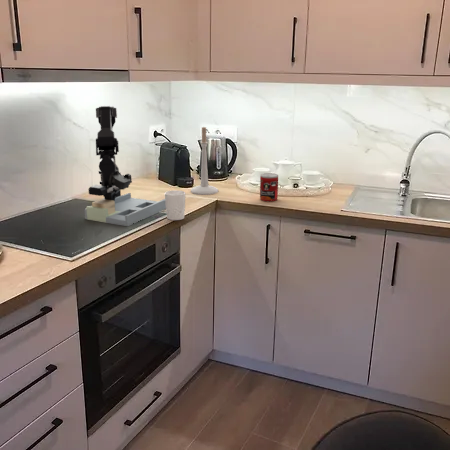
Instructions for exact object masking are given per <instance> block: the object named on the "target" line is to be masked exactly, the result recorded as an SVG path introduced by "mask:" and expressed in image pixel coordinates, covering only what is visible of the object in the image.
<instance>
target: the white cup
mask: <svg viewBox="0 0 450 450" xmlns="http://www.w3.org/2000/svg"><path fill="white" fill-rule="evenodd" d="M164 199H165V205H166V209H165V211H166V219H167V220H170V221H180V220H184V219H185V212H186V191H183V190H176V189H174V190H167V191H165V192H164Z"/></svg>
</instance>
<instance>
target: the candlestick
mask: <svg viewBox="0 0 450 450" xmlns="http://www.w3.org/2000/svg"><path fill="white" fill-rule="evenodd" d="M199 143H200V145H201V148H202V149H201V165H200V166H201V168H200V170H201V171H200V184H199V185H197V186H193V187H191V189H190V193H192V194H194V195H199V196H200V195H201V196H206V195H207V196H208V195H209V196H211V195H216V194H217V193H219V189H218V188H217V187H216V186H213V185H209V175H208V173H209V172H208V156H207V155H208V154H207V146H208V143H209V142H208V141H207V127H206V126H201V141H200V142H199Z"/></svg>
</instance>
